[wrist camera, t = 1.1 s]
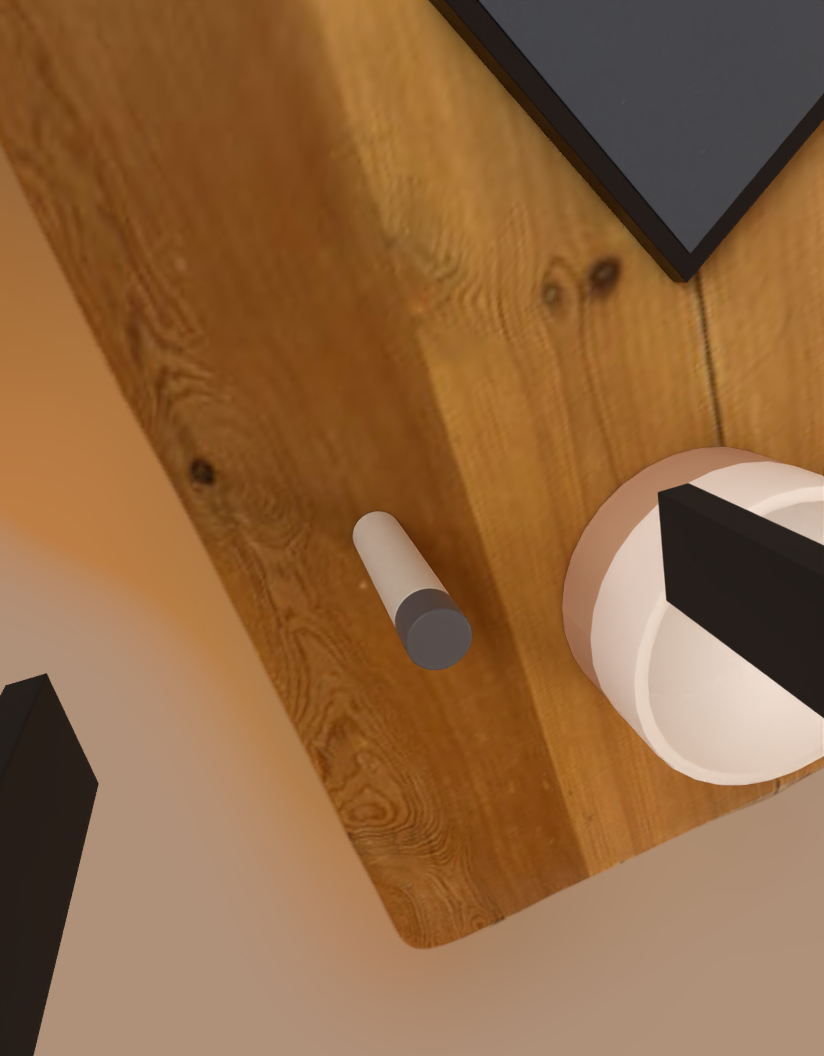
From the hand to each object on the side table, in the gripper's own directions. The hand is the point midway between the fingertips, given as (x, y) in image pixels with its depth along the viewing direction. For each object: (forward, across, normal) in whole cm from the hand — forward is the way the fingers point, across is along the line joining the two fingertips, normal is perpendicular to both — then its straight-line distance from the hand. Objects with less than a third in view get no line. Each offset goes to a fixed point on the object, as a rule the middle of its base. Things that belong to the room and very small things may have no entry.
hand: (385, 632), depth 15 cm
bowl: (+22, +21, -16) cm, 34 cm away
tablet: (+22, +21, +14) cm, 34 cm away
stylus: (+22, +3, -7) cm, 23 cm away
